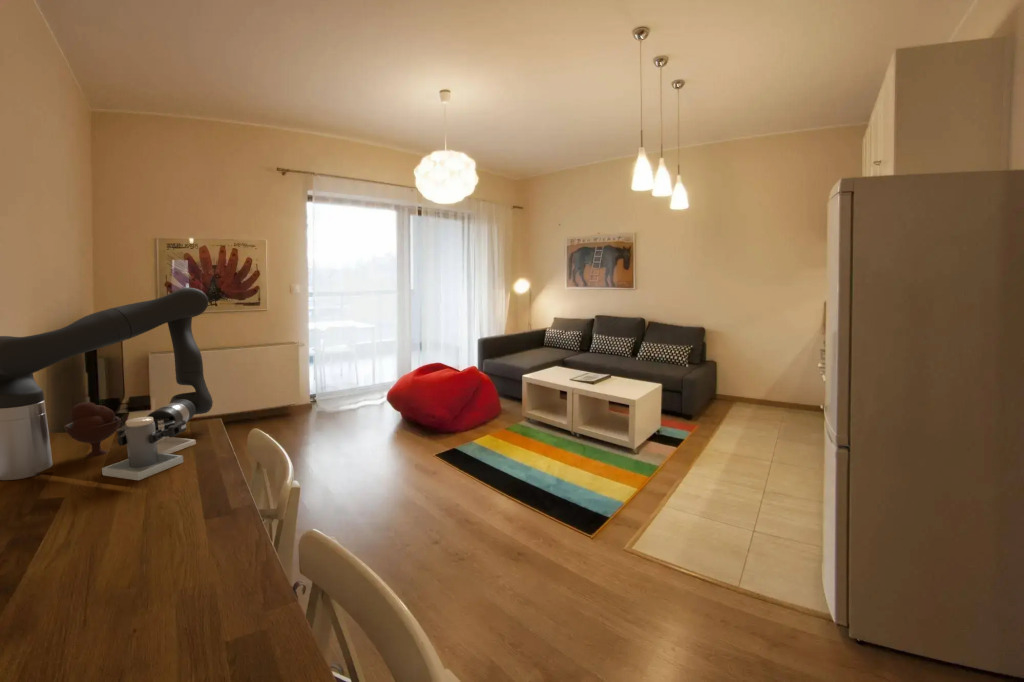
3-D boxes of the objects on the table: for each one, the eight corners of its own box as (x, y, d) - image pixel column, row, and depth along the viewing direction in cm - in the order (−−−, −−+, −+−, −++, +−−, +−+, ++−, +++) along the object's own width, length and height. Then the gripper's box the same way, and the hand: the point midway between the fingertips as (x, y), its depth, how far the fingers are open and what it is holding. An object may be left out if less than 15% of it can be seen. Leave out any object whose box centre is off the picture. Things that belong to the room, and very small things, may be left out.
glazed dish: (102, 478, 107) (101, 468, 106) (150, 460, 117) (149, 451, 117) (138, 483, 104) (137, 473, 104) (183, 465, 115) (182, 455, 114)
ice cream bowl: (99, 465, 114) (92, 407, 112) (56, 464, 115) (49, 406, 113) (134, 449, 125) (129, 396, 123) (95, 449, 125) (89, 396, 123)
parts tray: (129, 456, 120) (128, 449, 120) (167, 443, 130) (166, 436, 130) (159, 460, 118) (158, 453, 117) (196, 446, 128) (195, 439, 127)
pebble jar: (123, 466, 109) (118, 422, 107) (146, 457, 114) (142, 415, 112) (141, 469, 107) (136, 424, 106) (164, 460, 113) (160, 417, 111)
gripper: (135, 407, 121) (97, 427, 105) (197, 404, 125) (170, 423, 109) (137, 434, 122) (101, 458, 106) (199, 430, 126) (172, 452, 110)
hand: (136, 440), depth 107 cm, fingers closed on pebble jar, 5 cm apart
